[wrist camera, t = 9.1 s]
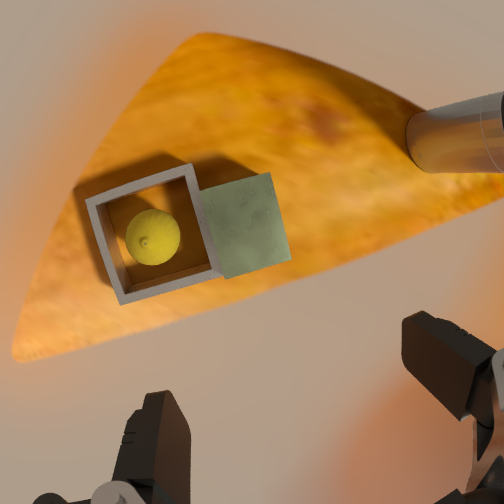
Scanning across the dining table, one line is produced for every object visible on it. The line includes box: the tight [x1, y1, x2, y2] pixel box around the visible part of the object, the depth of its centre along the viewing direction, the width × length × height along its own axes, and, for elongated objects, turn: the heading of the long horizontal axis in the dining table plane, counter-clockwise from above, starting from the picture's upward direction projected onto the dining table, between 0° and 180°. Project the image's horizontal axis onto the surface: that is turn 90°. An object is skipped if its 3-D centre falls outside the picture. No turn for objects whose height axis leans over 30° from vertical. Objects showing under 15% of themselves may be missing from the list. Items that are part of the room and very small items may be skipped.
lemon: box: [125, 209, 180, 265], centre depth 28 cm, size 6×6×8 cm
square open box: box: [85, 163, 292, 305], centre depth 30 cm, size 19×12×5 cm, turn 105°
